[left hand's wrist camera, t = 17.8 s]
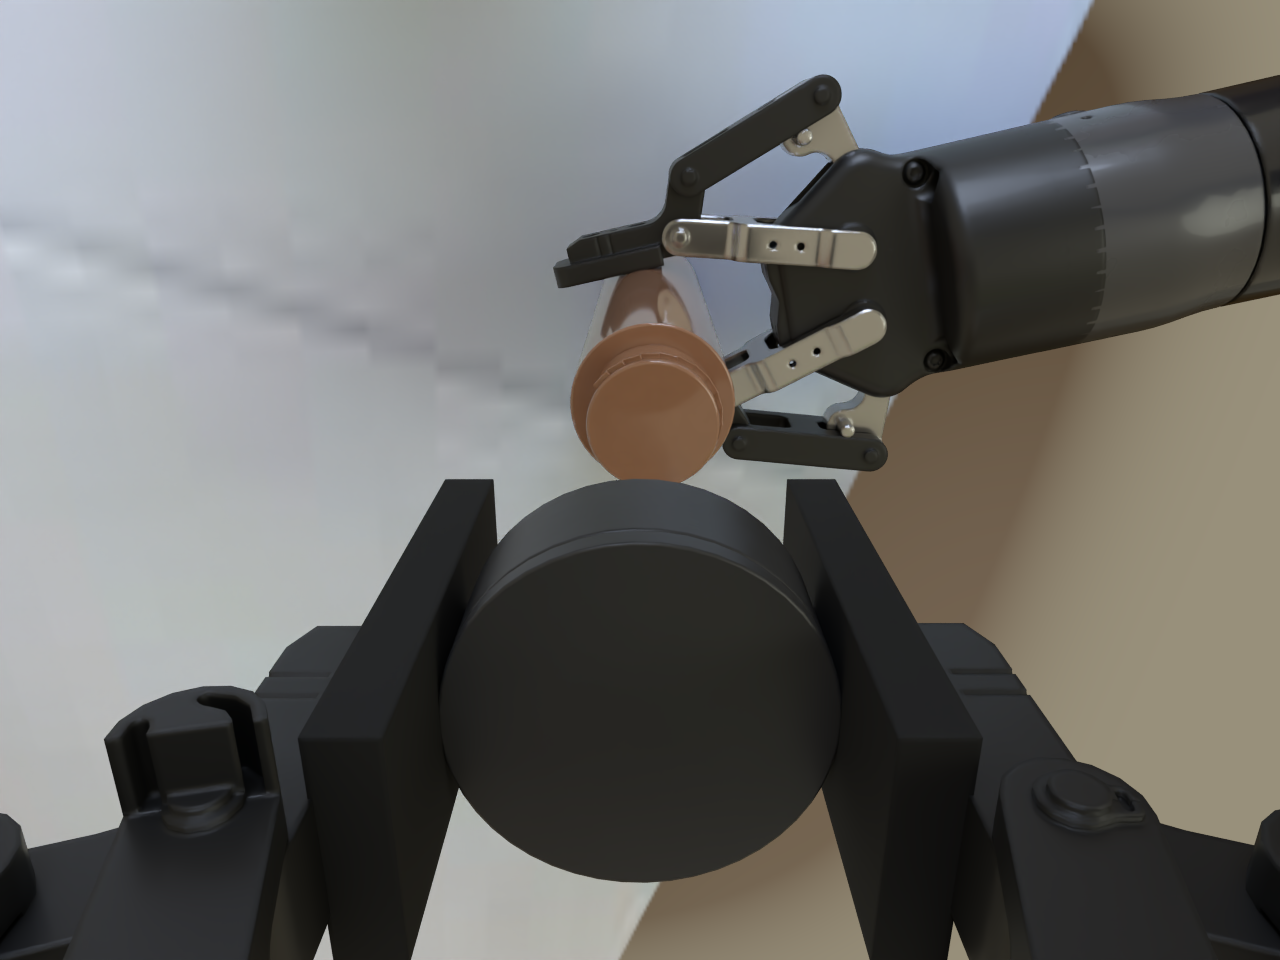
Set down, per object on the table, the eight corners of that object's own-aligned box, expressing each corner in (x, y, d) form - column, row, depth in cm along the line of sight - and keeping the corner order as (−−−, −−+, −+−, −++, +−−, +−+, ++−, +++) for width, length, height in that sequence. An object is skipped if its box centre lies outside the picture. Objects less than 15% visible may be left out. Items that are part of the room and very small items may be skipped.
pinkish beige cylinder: (719, 290, 38) (779, 422, 21) (653, 360, 39) (657, 541, 22) (648, 222, 37) (647, 299, 20) (582, 295, 38) (527, 432, 21)
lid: (398, 589, 12) (354, 671, 10) (701, 409, 11) (713, 464, 9) (589, 827, 13) (581, 938, 11) (872, 684, 12) (911, 779, 11)
